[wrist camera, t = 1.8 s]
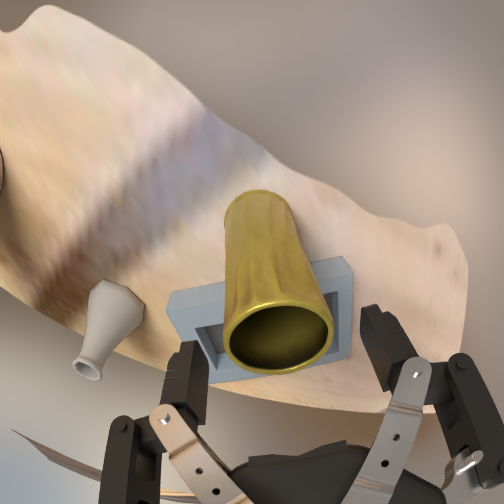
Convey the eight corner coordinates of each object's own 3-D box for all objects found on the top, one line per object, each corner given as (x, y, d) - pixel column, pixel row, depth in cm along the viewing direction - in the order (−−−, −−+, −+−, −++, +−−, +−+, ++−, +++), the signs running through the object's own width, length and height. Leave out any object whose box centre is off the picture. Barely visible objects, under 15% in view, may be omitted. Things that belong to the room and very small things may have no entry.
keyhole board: (171, 292, 28) (165, 310, 25) (342, 255, 27) (352, 272, 24) (209, 366, 34) (208, 384, 31) (343, 340, 33) (349, 357, 30)
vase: (291, 250, 26) (332, 373, 14) (226, 253, 26) (221, 383, 13) (293, 187, 23) (355, 285, 11) (221, 190, 23) (203, 296, 10)
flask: (154, 301, 28) (131, 374, 20) (133, 336, 31) (111, 401, 22) (99, 268, 26) (57, 332, 17) (84, 307, 29) (51, 368, 20)
